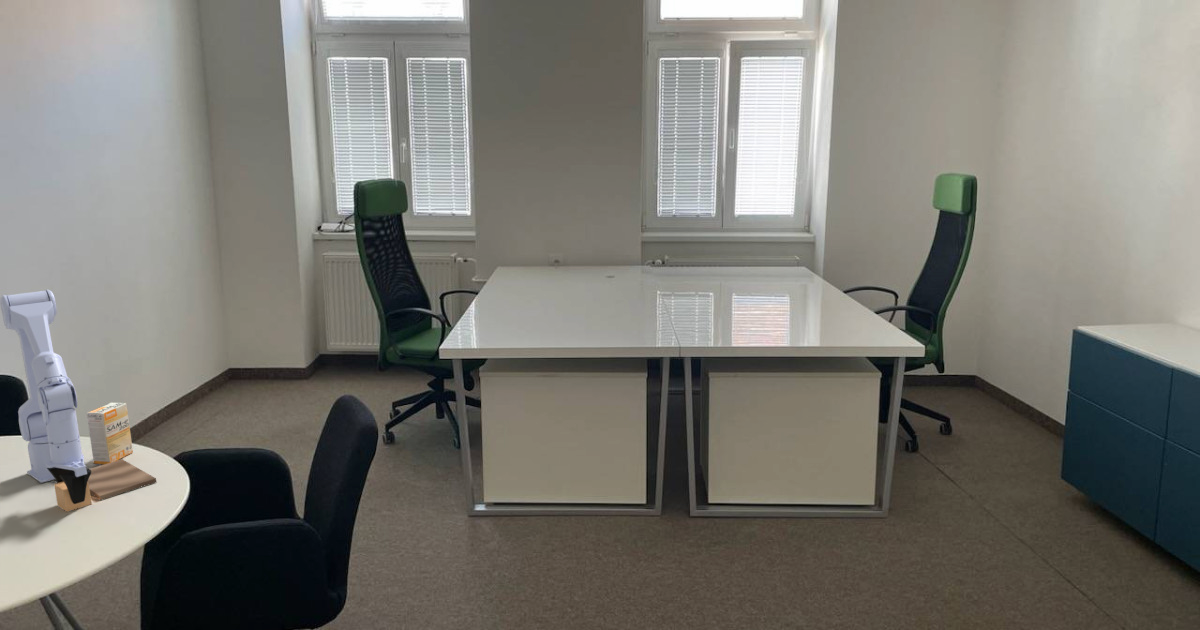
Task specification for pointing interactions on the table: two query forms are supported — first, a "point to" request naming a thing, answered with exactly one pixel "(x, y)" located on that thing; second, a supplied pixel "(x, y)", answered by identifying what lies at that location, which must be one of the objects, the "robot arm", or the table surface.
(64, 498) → the orange cube
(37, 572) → the table surface
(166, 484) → the table surface
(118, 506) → the table surface
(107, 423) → the supplement box
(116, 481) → the walnut board
